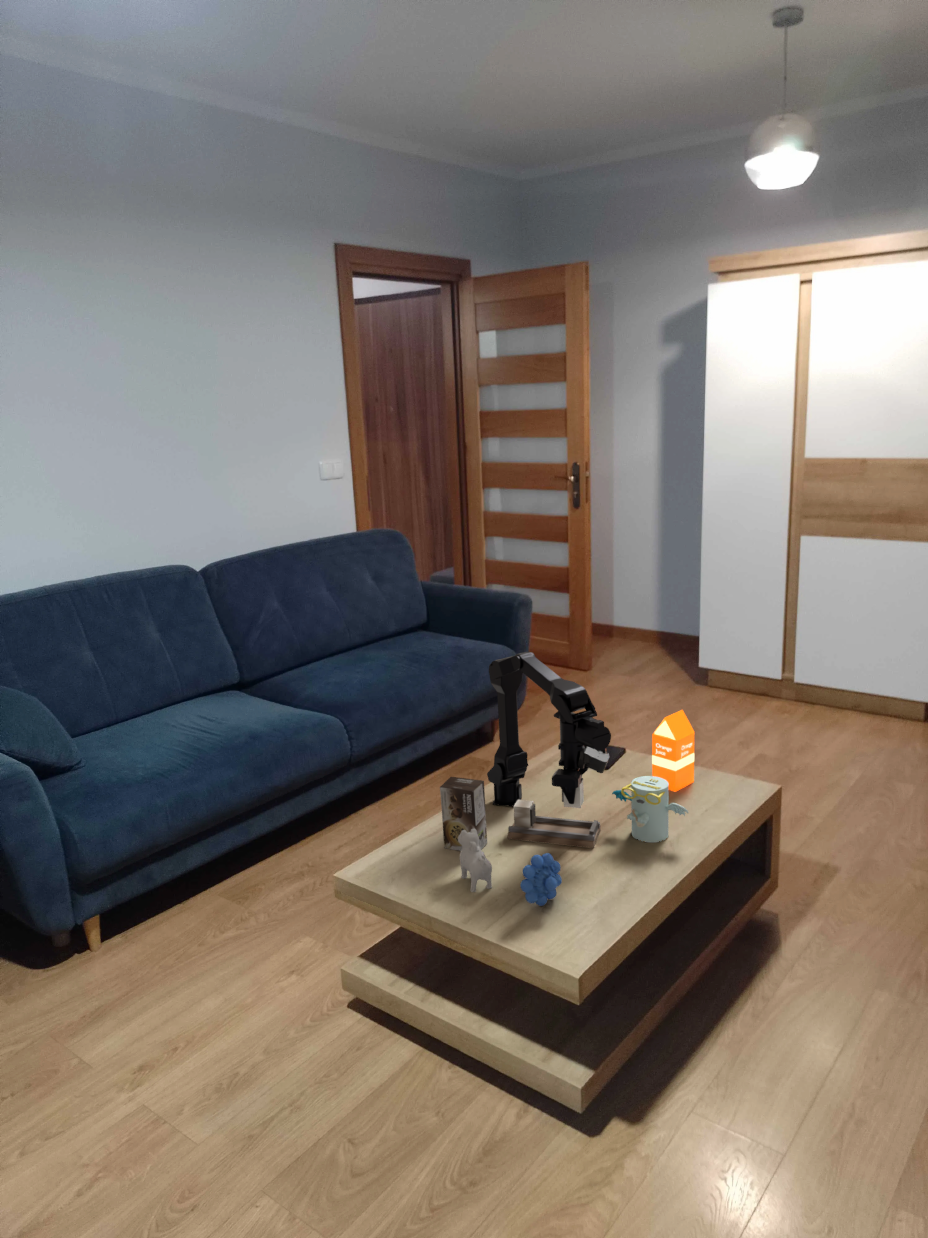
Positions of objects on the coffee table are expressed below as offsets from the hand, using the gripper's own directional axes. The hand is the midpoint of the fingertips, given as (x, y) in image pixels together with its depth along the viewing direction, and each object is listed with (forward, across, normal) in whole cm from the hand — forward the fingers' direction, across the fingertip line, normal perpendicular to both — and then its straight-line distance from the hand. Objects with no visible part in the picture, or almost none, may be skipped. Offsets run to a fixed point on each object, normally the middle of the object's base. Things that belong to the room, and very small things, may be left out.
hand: (573, 800), depth 219 cm
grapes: (+10, -32, -1) cm, 34 cm away
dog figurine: (+10, -25, +17) cm, 32 cm away
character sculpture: (+10, +4, -17) cm, 20 cm away
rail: (+10, 0, +5) cm, 11 cm away
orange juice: (+10, +37, -20) cm, 43 cm away
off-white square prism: (+1, 0, 0) cm, 1 cm away
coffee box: (+10, -10, +24) cm, 28 cm away
